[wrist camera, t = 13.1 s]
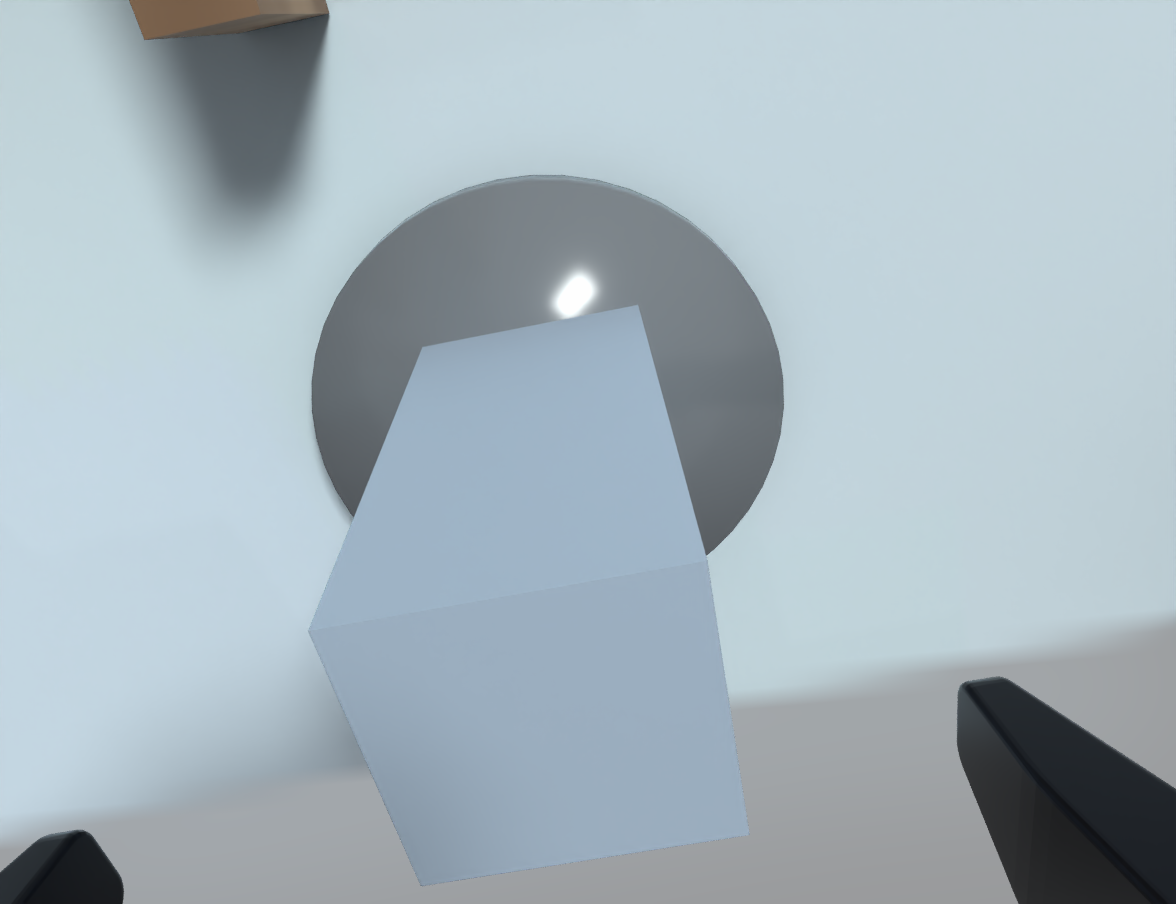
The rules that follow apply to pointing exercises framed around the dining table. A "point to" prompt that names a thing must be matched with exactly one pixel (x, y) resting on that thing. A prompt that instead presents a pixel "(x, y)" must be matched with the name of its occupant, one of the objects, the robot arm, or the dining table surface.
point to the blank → (533, 612)
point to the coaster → (550, 293)
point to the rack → (218, 15)
